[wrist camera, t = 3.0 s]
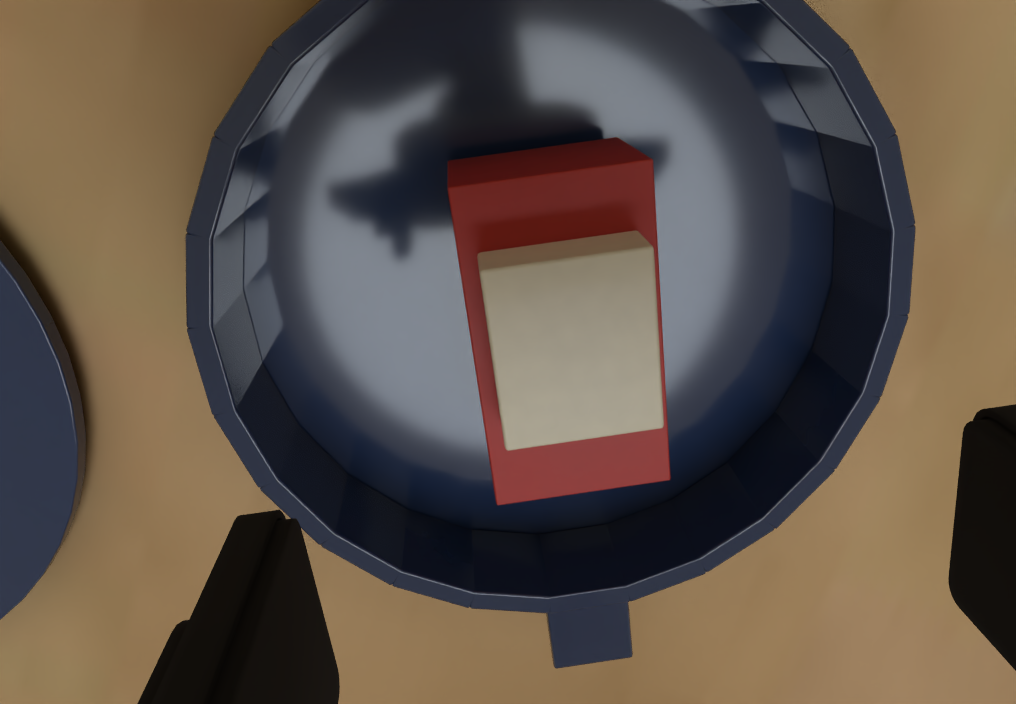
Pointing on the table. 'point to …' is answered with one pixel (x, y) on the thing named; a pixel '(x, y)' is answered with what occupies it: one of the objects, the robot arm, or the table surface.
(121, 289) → the table surface
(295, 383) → the pot
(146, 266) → the table surface
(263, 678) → the robot arm
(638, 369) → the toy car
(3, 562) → the lid
